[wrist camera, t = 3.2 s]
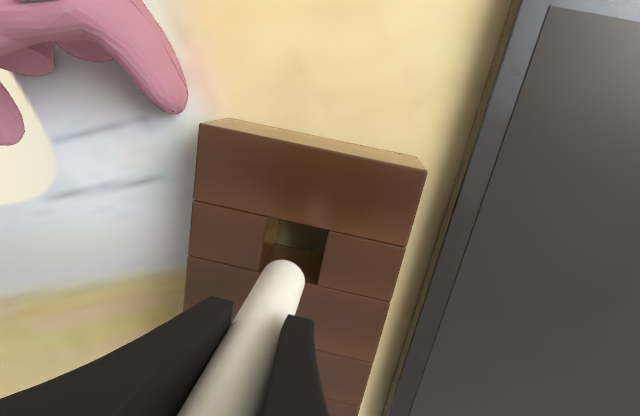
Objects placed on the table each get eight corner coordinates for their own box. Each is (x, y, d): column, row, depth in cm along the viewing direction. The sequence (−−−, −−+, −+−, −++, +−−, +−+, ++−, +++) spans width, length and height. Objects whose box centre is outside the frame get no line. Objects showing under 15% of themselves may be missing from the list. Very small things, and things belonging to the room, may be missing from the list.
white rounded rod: (303, 293, 13) (220, 553, 6) (263, 284, 14) (130, 527, 6) (311, 256, 13) (232, 485, 5) (269, 247, 13) (134, 459, 5)
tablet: (678, 504, 19) (695, 527, 18) (377, 428, 20) (377, 445, 19) (995, 61, 13) (1049, 58, 12) (519, -24, 13) (531, -33, 12)
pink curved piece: (196, 24, 17) (63, -143, 10) (200, 119, 16) (58, 7, 9) (11, 67, 18) (-210, -53, 12) (6, 154, 18) (-236, 81, 11)
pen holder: (349, 405, 20) (346, 456, 17) (200, 368, 21) (174, 412, 18) (417, 157, 16) (428, 170, 13) (228, 117, 16) (198, 122, 13)
